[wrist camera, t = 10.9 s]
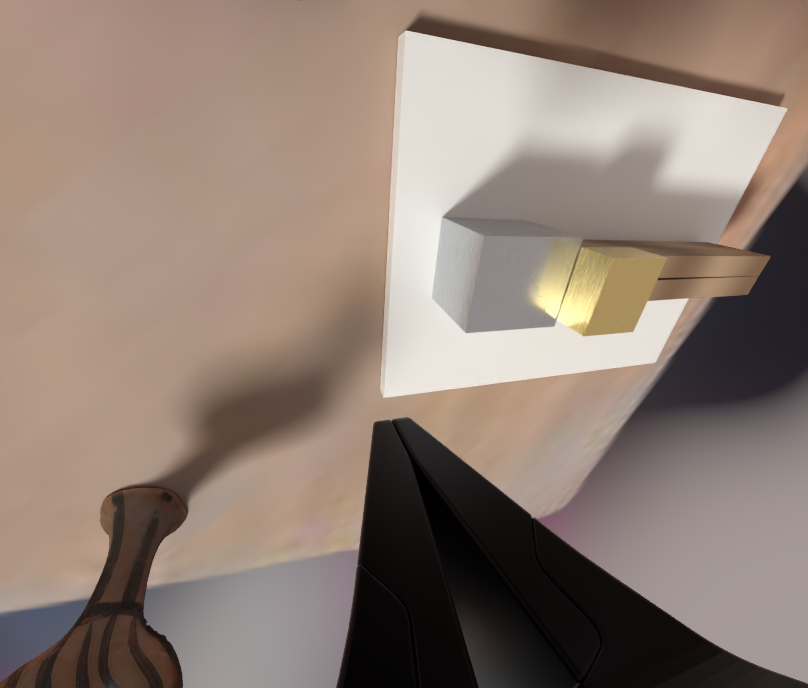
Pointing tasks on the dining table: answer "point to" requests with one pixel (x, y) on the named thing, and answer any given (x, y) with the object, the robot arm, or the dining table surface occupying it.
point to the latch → (609, 289)
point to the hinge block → (502, 273)
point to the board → (546, 193)
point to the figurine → (116, 608)
